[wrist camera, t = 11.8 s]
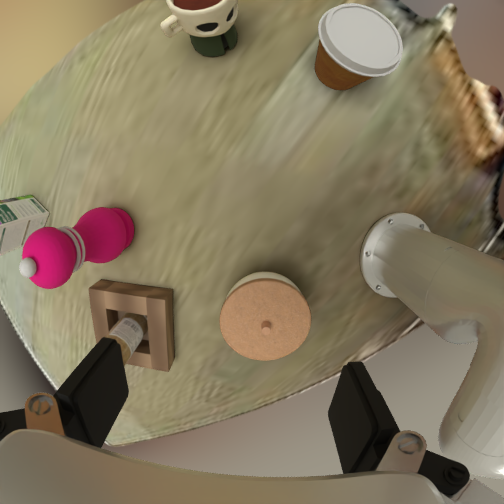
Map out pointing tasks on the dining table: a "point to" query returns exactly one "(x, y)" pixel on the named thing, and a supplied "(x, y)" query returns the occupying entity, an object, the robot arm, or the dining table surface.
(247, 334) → the lidded jar
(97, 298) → the socket block
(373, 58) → the disposable coffee cup
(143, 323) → the sprinkles bottle
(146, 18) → the dining table surface
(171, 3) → the character mug
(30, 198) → the syrup box
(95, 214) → the pepper mill
